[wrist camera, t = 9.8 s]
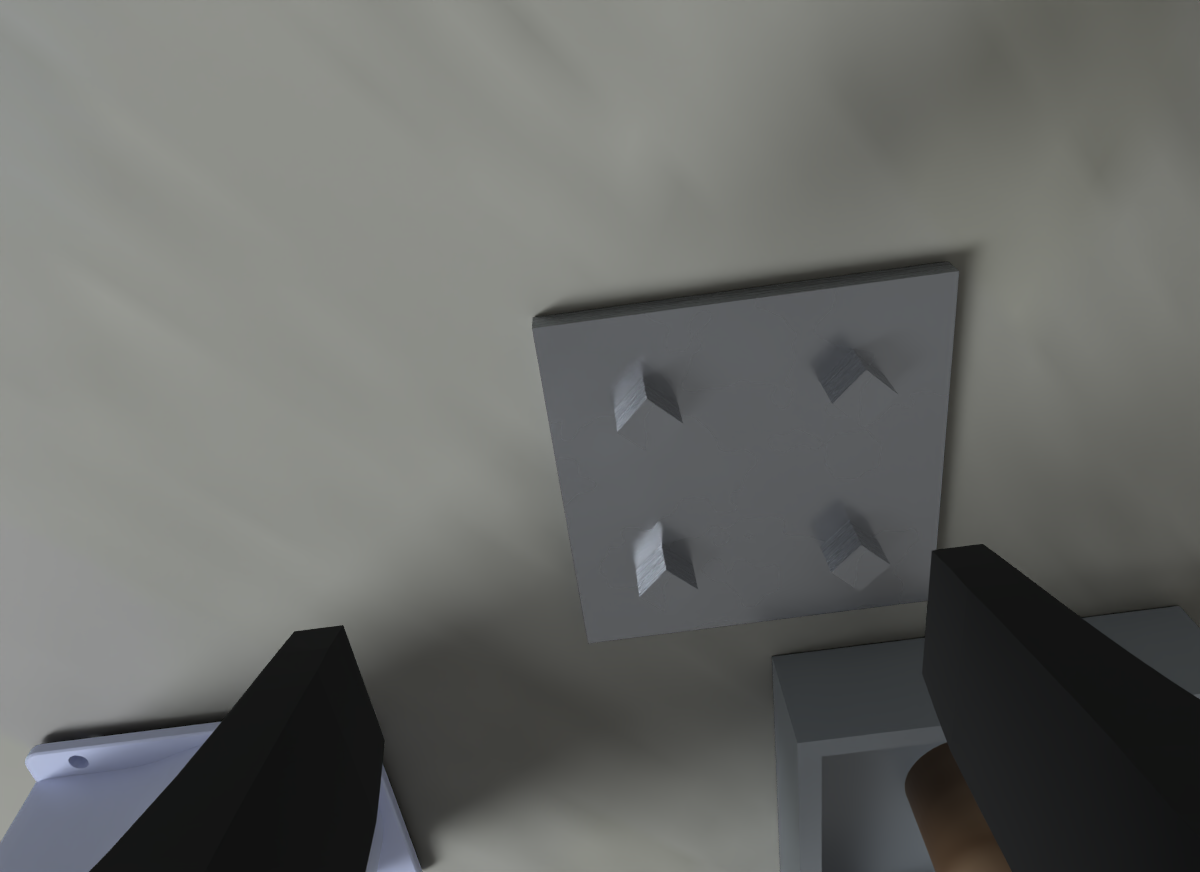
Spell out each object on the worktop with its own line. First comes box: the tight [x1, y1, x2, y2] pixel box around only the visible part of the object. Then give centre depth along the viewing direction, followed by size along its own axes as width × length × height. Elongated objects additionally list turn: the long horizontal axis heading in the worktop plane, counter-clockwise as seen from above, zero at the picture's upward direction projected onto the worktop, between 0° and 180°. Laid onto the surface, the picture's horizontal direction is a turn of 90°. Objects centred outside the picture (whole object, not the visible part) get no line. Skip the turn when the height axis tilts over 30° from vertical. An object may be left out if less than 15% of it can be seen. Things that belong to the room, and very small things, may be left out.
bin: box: [772, 606, 1200, 872], centre depth 26 cm, size 11×11×3 cm
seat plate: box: [532, 262, 959, 643], centre depth 21 cm, size 9×9×2 cm
